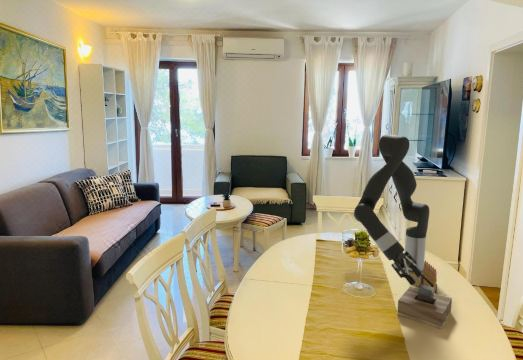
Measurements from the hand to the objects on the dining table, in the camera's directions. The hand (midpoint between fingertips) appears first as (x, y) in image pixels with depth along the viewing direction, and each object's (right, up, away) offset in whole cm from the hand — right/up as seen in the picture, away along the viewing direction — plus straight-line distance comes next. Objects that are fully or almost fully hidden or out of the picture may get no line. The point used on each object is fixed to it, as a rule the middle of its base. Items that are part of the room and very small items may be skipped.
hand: (417, 279), depth 148 cm
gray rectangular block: (+3, -12, 0) cm, 12 cm away
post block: (+3, -13, 0) cm, 13 cm away
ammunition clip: (+13, -10, +19) cm, 25 cm away
